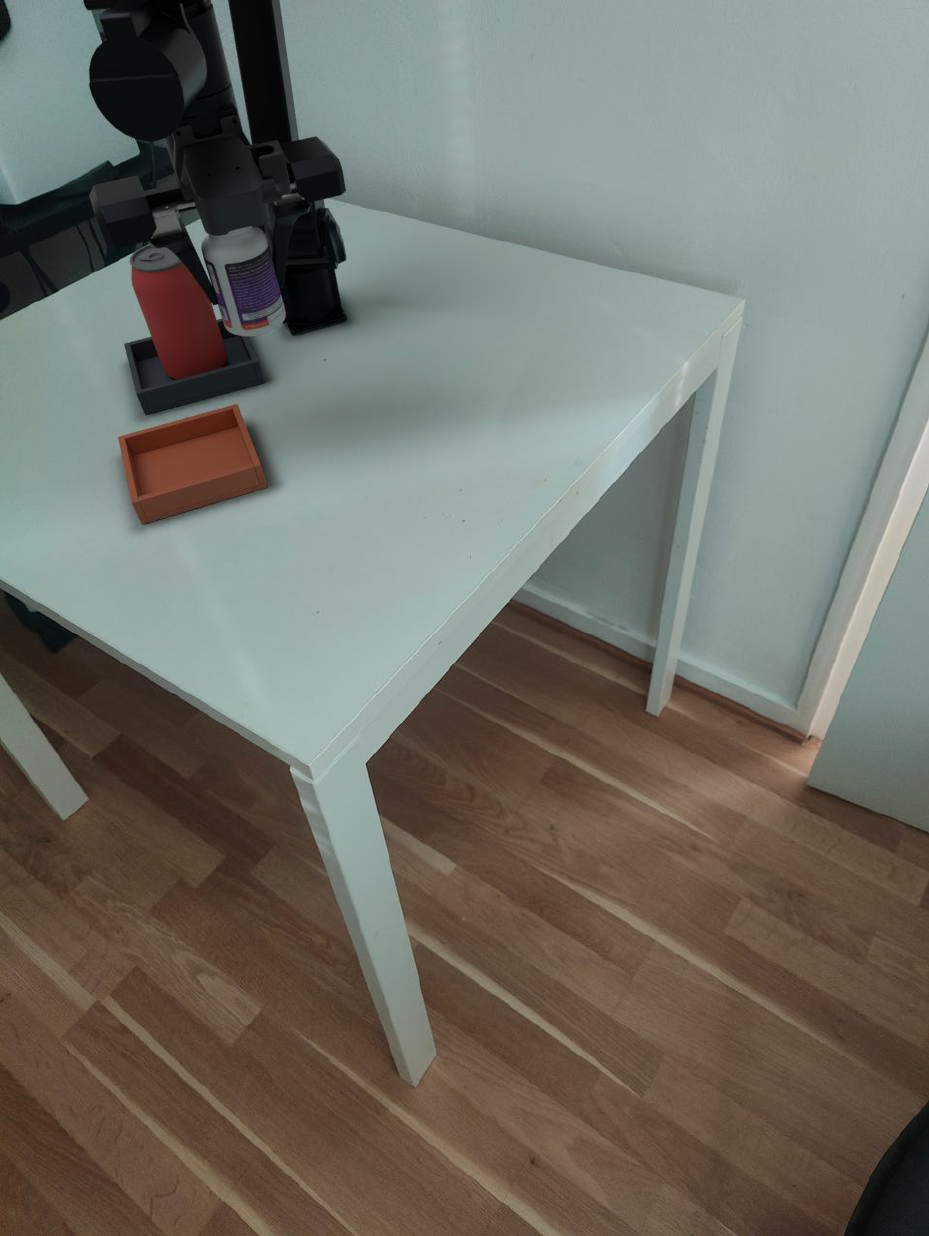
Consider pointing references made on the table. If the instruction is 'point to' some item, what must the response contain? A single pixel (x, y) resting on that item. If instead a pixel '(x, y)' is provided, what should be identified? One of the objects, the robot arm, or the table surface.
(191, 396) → the can tray
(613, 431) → the table surface
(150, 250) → the beer can
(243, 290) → the pill bottle
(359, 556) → the table surface
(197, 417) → the tray
